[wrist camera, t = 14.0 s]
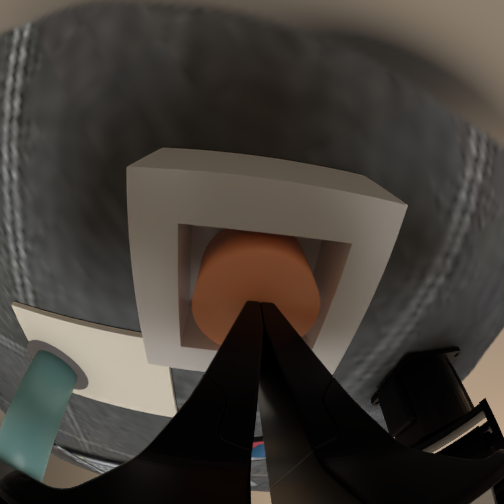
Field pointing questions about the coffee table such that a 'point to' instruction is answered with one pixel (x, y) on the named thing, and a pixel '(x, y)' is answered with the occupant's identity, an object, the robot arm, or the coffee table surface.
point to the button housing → (258, 220)
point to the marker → (35, 415)
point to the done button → (253, 281)
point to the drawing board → (101, 360)
